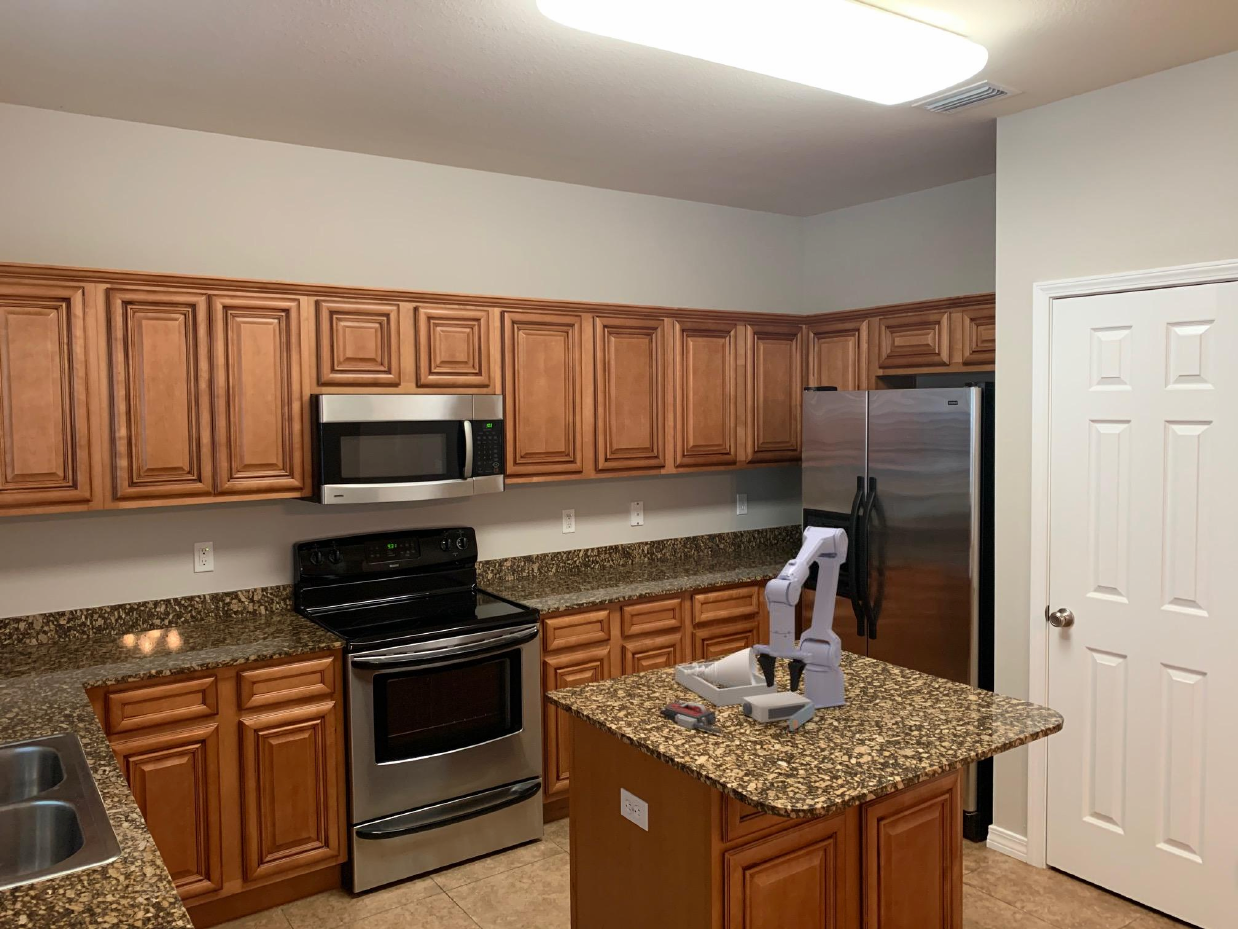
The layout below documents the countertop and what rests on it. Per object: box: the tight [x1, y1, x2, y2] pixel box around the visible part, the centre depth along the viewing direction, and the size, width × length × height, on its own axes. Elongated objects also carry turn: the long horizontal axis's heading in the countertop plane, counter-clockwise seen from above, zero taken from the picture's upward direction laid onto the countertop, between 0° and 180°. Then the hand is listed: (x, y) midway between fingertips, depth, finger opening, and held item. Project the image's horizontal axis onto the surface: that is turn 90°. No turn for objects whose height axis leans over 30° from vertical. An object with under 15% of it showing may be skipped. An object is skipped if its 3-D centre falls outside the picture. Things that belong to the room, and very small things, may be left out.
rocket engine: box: [684, 647, 759, 688], centre depth 245 cm, size 12×12×18 cm
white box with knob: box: [741, 690, 812, 724], centre depth 226 cm, size 15×9×4 cm, turn 112°
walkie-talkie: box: [659, 700, 722, 735], centre depth 219 cm, size 9×4×20 cm
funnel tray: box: [674, 660, 778, 707], centre depth 247 cm, size 17×25×4 cm
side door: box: [788, 702, 816, 732], centre depth 218 cm, size 13×2×3 cm, turn 146°
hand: (782, 688), depth 218 cm, fingers open, 6 cm apart
